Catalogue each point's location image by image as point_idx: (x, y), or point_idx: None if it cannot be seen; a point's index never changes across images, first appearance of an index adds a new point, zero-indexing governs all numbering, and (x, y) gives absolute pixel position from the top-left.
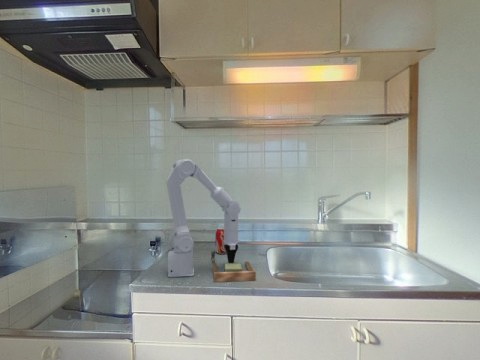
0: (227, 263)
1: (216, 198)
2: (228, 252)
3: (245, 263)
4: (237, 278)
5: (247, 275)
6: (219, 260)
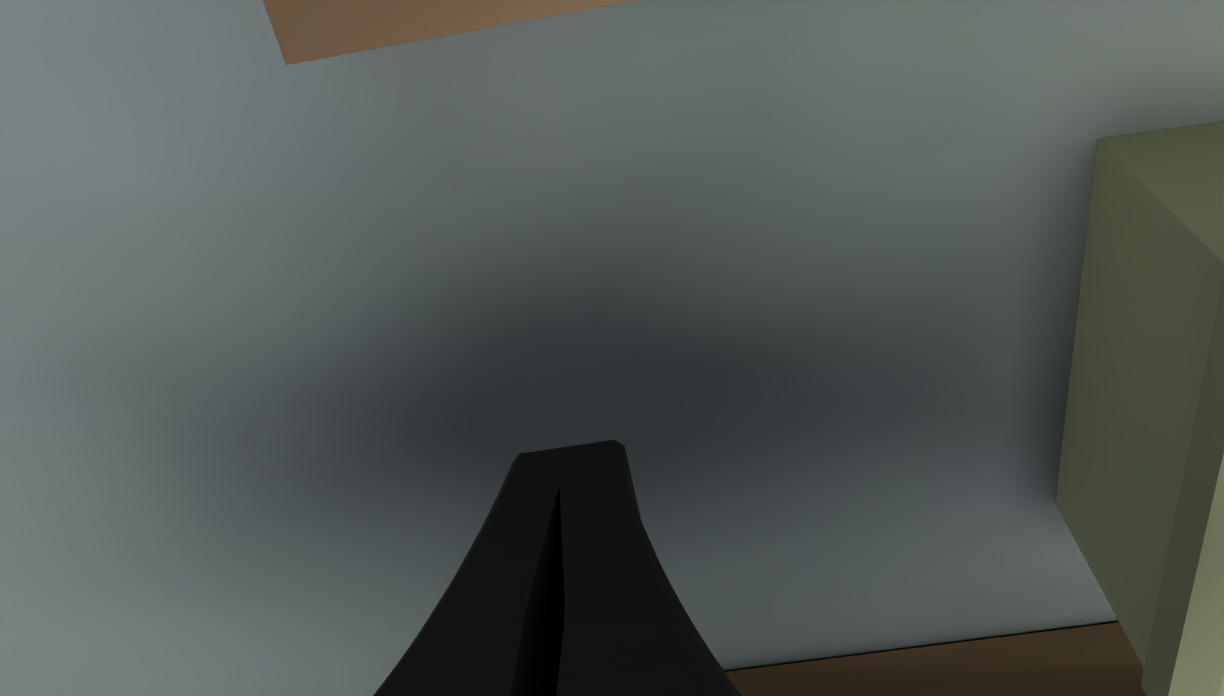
0: (1208, 660)
1: None
2: None
3: (432, 28)
4: None
5: None
6: (80, 684)
